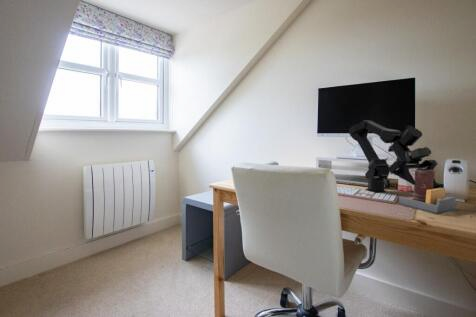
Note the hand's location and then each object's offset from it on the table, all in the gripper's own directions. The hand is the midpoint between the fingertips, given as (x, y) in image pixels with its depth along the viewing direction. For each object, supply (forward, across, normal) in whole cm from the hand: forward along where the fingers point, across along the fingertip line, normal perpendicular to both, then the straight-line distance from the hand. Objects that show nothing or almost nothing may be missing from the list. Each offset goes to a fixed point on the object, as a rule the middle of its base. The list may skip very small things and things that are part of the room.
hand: (424, 183), depth 100 cm
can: (+5, +1, +7) cm, 9 cm away
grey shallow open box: (+7, 0, +6) cm, 9 cm away
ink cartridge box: (-10, +17, +24) cm, 31 cm away
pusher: (+9, +1, +4) cm, 10 cm away
